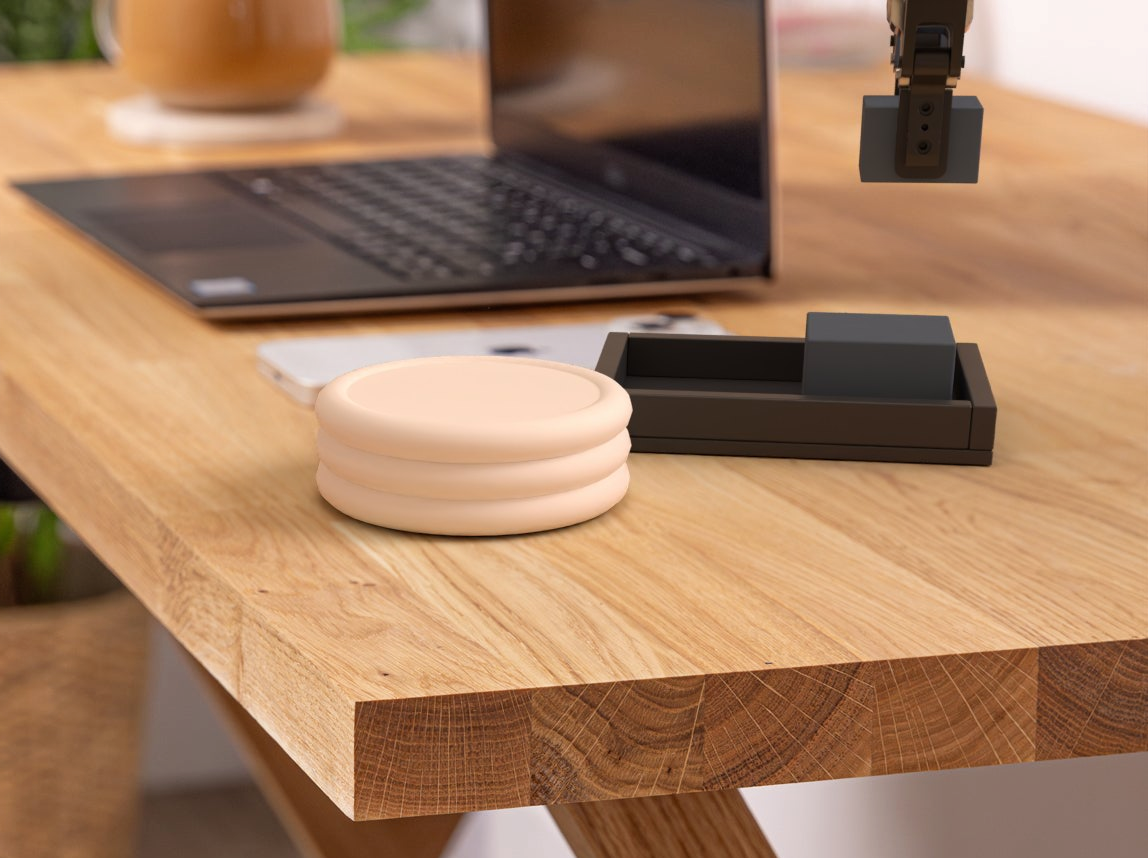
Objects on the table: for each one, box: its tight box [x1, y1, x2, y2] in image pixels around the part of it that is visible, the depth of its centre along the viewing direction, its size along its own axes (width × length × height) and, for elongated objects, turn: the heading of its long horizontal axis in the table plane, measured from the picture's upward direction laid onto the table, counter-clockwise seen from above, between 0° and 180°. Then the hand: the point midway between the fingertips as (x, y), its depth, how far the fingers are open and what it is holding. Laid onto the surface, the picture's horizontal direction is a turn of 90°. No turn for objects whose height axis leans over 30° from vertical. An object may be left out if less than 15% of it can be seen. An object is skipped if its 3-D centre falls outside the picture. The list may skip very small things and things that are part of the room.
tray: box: [594, 331, 998, 466], centre depth 80 cm, size 14×10×2 cm
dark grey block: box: [858, 94, 985, 185], centre depth 100 cm, size 5×5×3 cm
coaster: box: [313, 354, 633, 537], centre depth 72 cm, size 10×10×4 cm
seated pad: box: [802, 311, 957, 400], centre depth 79 cm, size 5×5×3 cm
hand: (917, 166), depth 100 cm, fingers closed on dark grey block, 4 cm apart
